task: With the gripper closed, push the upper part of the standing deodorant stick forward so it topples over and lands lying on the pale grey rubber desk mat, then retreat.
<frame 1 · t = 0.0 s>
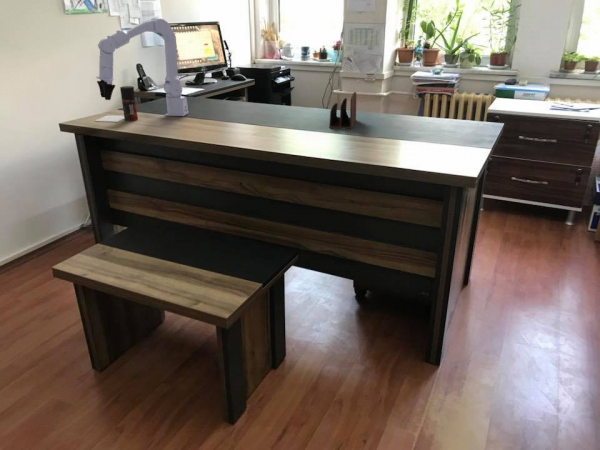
hand: (105, 98, 225), 11 cm above the table, tool pointing down, fingers open, 7 cm apart
mat: (112, 119, 234), on the table
letter holder: (342, 124, 228), on the table
deodorant: (131, 120, 233), on the table
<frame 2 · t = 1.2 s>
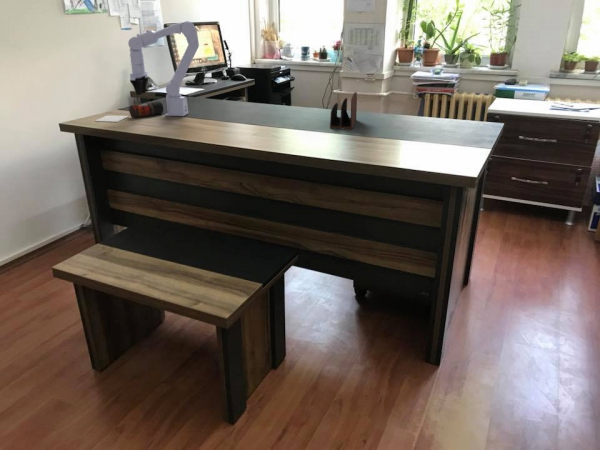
hand: (141, 93, 237), 10 cm above the table, tool pointing down, fingers open, 4 cm apart
deodorant: (131, 111, 235), point 3 cm above the table
everything else where it was.
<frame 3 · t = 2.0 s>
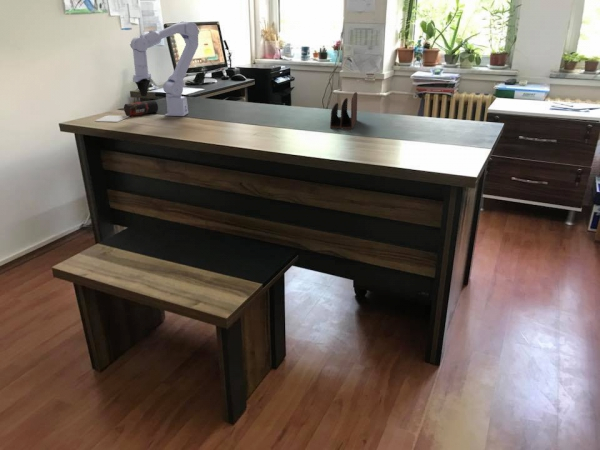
hand: (144, 95, 232), 10 cm above the table, tool pointing down, fingers closed
deodorant: (126, 110, 238), point 3 cm above the table
everything else where it was.
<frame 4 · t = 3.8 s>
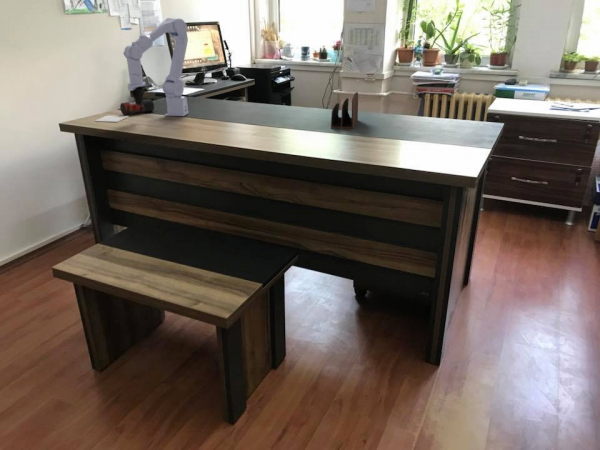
hand: (139, 104, 229), 7 cm above the table, tool pointing down, fingers closed
deodorant: (122, 109, 241), point 3 cm above the table
everything else where it was.
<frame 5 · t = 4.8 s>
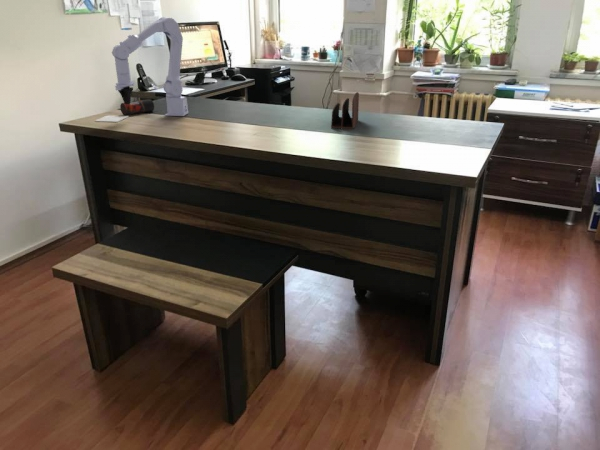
hand: (127, 103, 230), 7 cm above the table, tool pointing down, fingers closed
nothing on the table moved.
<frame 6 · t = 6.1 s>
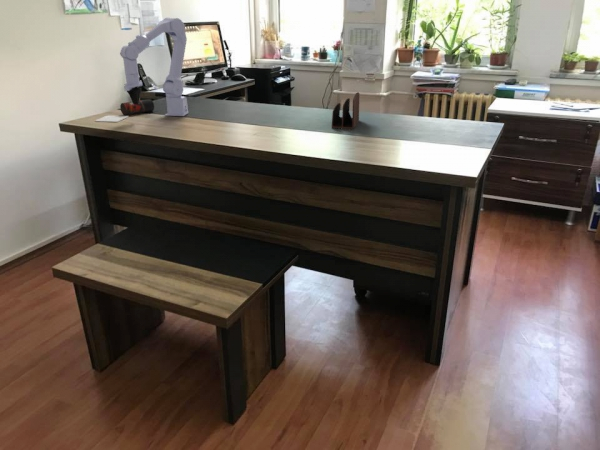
hand: (136, 104, 230), 7 cm above the table, tool pointing down, fingers closed
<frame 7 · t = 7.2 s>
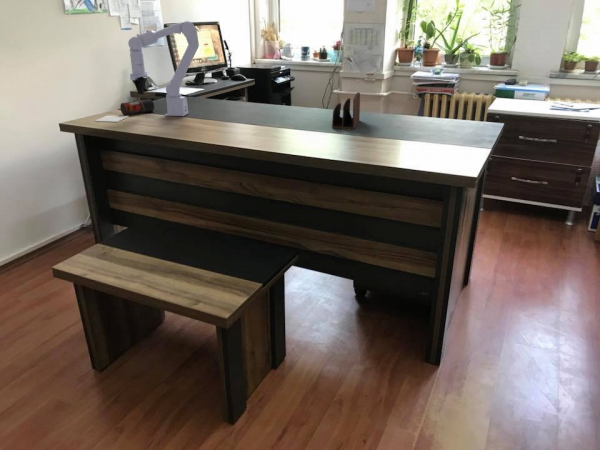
hand: (141, 93, 237), 10 cm above the table, tool pointing down, fingers closed
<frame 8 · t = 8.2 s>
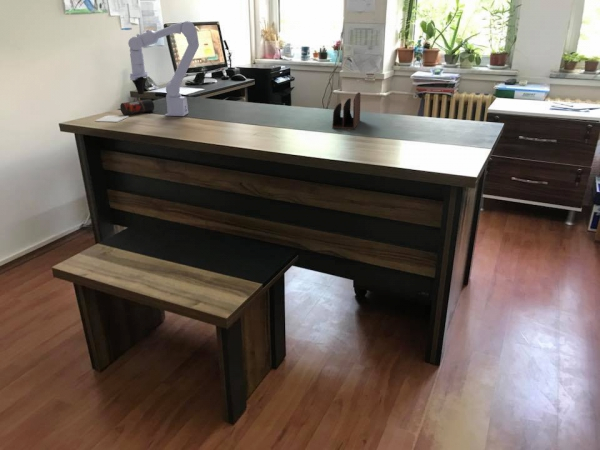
hand: (141, 93, 237), 10 cm above the table, tool pointing down, fingers closed
at the end: deodorant tilted 90°; deodorant inside the target area (9.0 cm from its centre), point 2.9 cm above the table; the gripper is holding nothing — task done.
